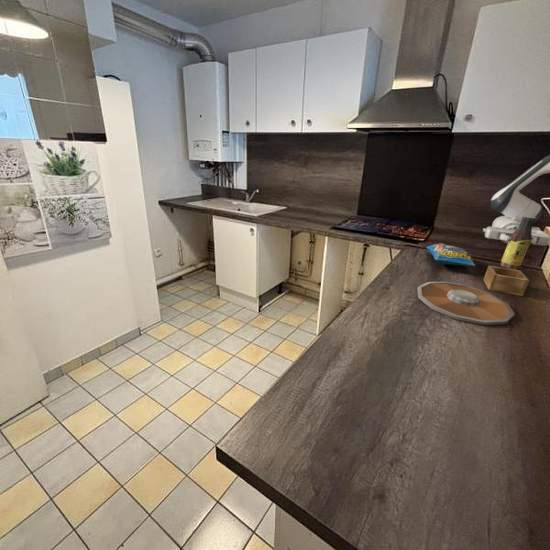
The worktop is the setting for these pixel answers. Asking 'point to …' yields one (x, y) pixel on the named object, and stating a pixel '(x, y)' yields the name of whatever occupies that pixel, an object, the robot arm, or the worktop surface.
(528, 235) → the sauce bottle
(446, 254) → the packet
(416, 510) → the worktop surface
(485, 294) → the shield
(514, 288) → the open wooden box
